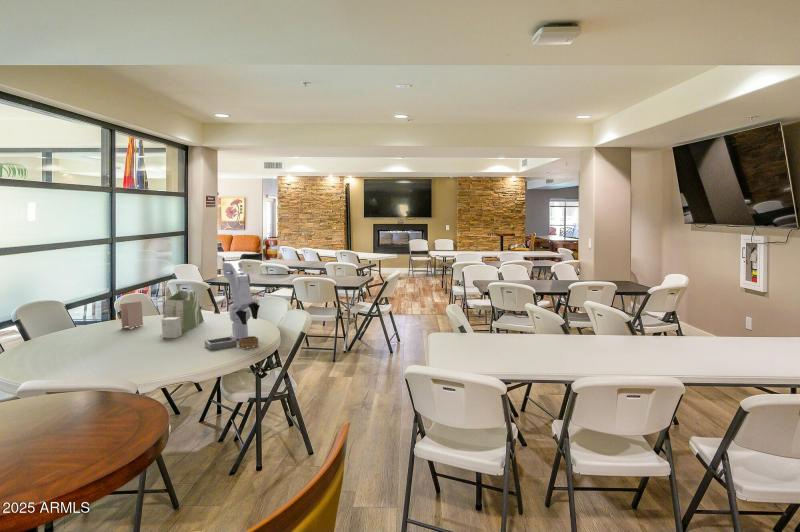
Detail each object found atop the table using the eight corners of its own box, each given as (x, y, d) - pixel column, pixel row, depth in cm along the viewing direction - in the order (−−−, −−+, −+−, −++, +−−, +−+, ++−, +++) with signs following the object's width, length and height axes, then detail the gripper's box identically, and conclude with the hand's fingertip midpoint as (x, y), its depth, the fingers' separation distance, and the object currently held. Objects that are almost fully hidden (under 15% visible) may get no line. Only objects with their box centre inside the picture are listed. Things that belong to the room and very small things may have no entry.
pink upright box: (142, 325, 299) (140, 301, 298) (146, 327, 294) (144, 302, 292) (121, 328, 291) (119, 303, 290) (125, 330, 286) (123, 305, 284)
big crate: (204, 346, 248) (204, 340, 248) (230, 341, 256) (230, 336, 255) (210, 350, 240) (209, 344, 240) (236, 345, 248) (236, 340, 247)
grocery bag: (187, 333, 278) (184, 292, 275) (162, 333, 277) (159, 293, 274) (204, 320, 309) (202, 284, 307) (182, 321, 308) (179, 285, 306)
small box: (181, 335, 271) (180, 317, 270) (176, 338, 266) (175, 319, 265) (168, 335, 272) (167, 317, 271) (162, 338, 266) (161, 319, 265)
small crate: (239, 347, 246) (238, 338, 245) (255, 344, 250) (254, 336, 250) (242, 349, 242) (242, 340, 241) (258, 346, 246) (257, 337, 246)
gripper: (229, 300, 249) (233, 325, 244) (249, 290, 243) (254, 315, 239) (240, 302, 255) (244, 327, 250) (260, 292, 249) (264, 316, 245)
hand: (249, 321), depth 245 cm, fingers open, 7 cm apart
